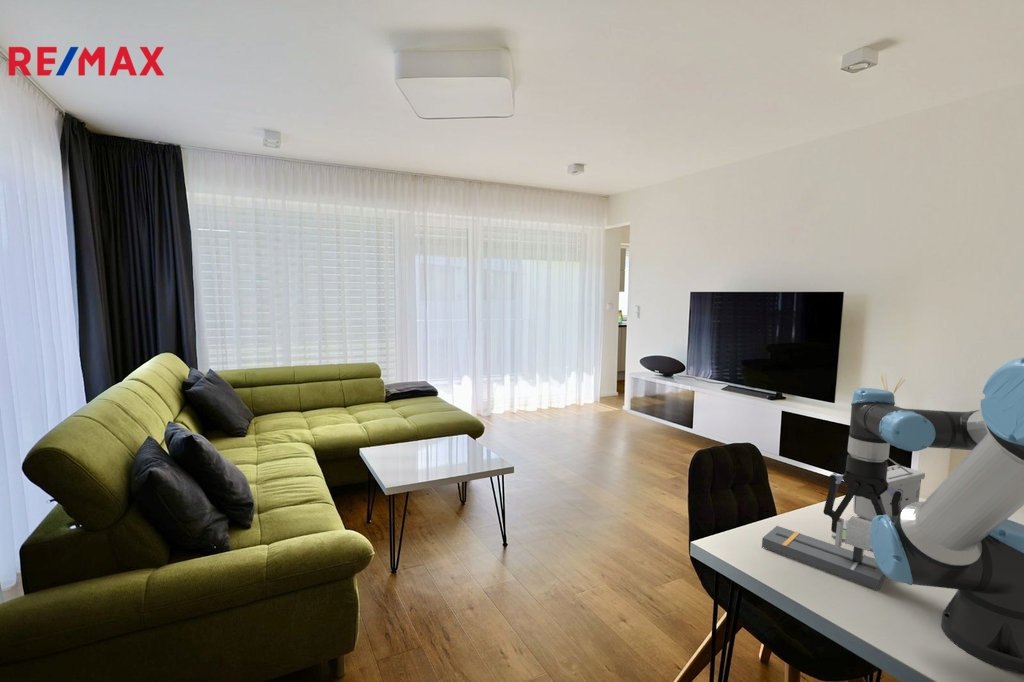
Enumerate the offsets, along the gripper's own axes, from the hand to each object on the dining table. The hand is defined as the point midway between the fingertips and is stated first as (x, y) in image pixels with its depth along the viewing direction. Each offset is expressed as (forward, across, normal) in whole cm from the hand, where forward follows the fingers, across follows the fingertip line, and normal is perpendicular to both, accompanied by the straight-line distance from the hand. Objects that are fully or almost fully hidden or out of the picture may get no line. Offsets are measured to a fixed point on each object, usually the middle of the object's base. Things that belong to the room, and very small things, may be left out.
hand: (858, 553), depth 113 cm
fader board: (+5, +7, 0) cm, 8 cm away
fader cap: (+2, 0, 0) cm, 2 cm away
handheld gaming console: (+5, +4, -22) cm, 23 cm away
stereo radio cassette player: (+5, +2, -43) cm, 44 cm away
